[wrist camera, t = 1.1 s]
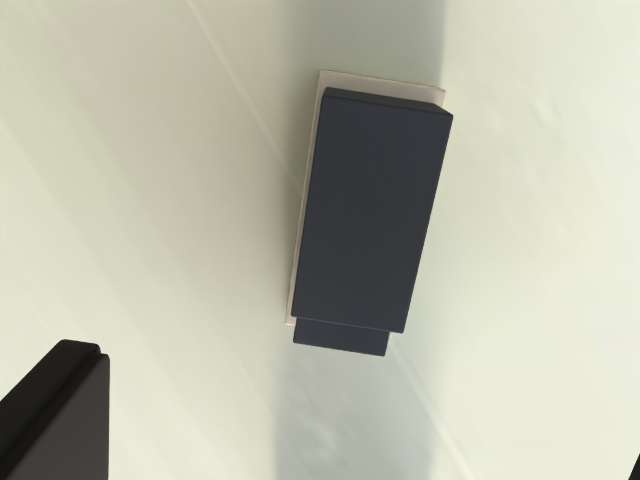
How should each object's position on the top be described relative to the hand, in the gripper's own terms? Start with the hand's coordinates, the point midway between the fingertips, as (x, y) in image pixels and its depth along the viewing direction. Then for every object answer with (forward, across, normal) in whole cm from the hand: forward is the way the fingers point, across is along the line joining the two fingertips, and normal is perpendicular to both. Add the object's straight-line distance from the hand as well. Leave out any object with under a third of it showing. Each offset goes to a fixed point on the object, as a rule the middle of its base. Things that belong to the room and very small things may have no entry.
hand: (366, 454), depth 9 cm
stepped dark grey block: (+14, 0, -1) cm, 14 cm away
